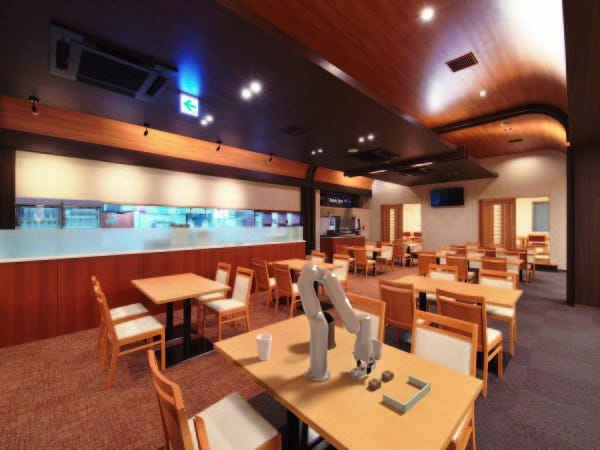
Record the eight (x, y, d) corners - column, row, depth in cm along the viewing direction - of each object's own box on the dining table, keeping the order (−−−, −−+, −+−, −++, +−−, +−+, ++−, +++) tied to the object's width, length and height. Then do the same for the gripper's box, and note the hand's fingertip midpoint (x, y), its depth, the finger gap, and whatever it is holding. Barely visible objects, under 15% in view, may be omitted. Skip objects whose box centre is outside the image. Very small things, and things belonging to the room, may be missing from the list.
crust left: (374, 391, 133) (374, 385, 133) (368, 387, 136) (368, 381, 136) (381, 387, 136) (381, 381, 136) (374, 383, 139) (374, 377, 139)
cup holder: (336, 339, 193) (336, 304, 193) (337, 355, 169) (337, 315, 169) (310, 338, 195) (310, 303, 195) (307, 354, 171) (307, 314, 171)
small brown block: (388, 382, 141) (388, 376, 141) (381, 378, 144) (381, 372, 144) (393, 378, 144) (393, 373, 144) (387, 375, 147) (387, 369, 147)
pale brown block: (379, 359, 165) (380, 342, 165) (369, 356, 169) (369, 340, 169) (382, 357, 168) (382, 340, 168) (371, 353, 172) (371, 338, 172)
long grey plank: (354, 381, 141) (354, 372, 141) (350, 379, 143) (350, 370, 143) (376, 368, 154) (376, 359, 154) (372, 367, 156) (372, 358, 156)
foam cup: (272, 354, 170) (272, 333, 170) (271, 361, 161) (271, 339, 161) (257, 354, 170) (257, 333, 170) (255, 362, 161) (255, 340, 161)
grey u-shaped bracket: (404, 415, 117) (404, 405, 117) (382, 402, 126) (382, 394, 126) (430, 392, 134) (430, 383, 134) (409, 382, 142) (409, 374, 142)
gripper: (347, 335, 153) (347, 367, 153) (373, 345, 140) (373, 380, 140) (355, 331, 158) (355, 362, 158) (381, 341, 145) (381, 375, 145)
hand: (363, 370), depth 149 cm, fingers open, 5 cm apart
